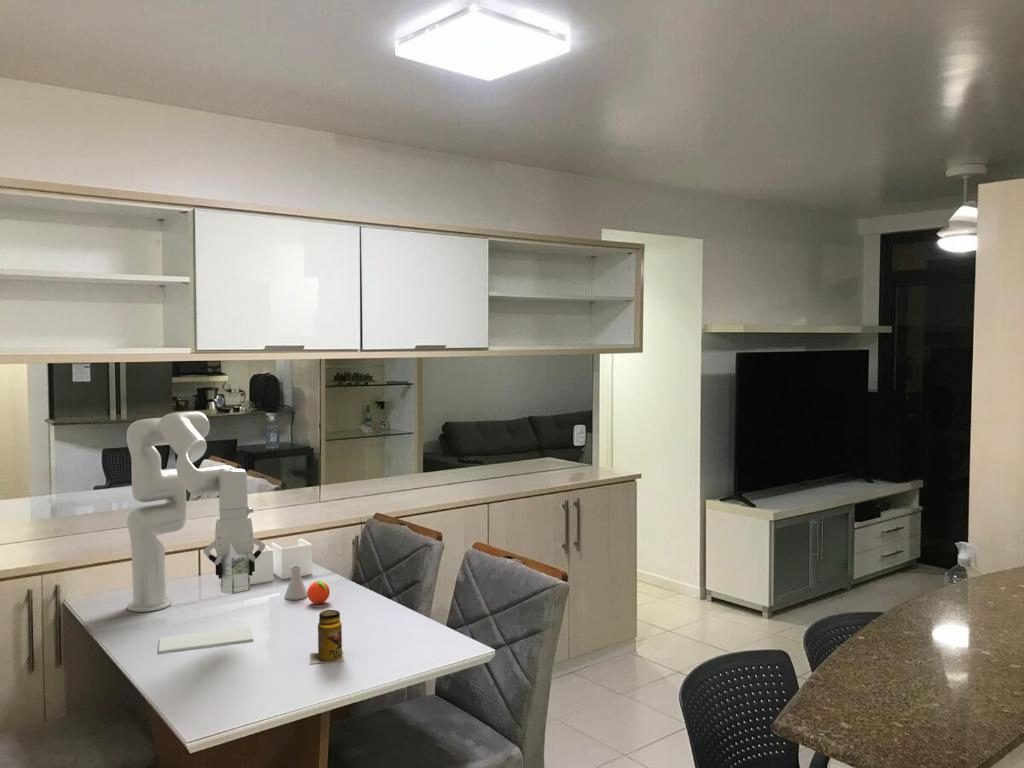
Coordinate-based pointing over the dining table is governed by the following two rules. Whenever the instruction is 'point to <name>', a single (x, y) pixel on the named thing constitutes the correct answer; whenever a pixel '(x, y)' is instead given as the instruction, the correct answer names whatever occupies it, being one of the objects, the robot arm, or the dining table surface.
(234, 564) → the syrup box
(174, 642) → the mat
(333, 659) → the condiment
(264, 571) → the white double bin
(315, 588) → the clementine
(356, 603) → the dining table surface
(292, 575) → the flask
